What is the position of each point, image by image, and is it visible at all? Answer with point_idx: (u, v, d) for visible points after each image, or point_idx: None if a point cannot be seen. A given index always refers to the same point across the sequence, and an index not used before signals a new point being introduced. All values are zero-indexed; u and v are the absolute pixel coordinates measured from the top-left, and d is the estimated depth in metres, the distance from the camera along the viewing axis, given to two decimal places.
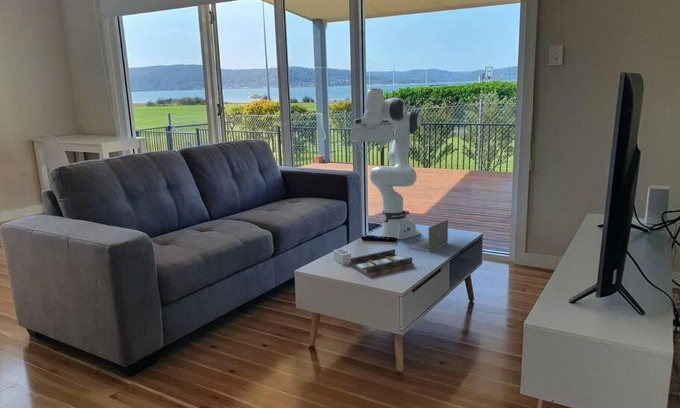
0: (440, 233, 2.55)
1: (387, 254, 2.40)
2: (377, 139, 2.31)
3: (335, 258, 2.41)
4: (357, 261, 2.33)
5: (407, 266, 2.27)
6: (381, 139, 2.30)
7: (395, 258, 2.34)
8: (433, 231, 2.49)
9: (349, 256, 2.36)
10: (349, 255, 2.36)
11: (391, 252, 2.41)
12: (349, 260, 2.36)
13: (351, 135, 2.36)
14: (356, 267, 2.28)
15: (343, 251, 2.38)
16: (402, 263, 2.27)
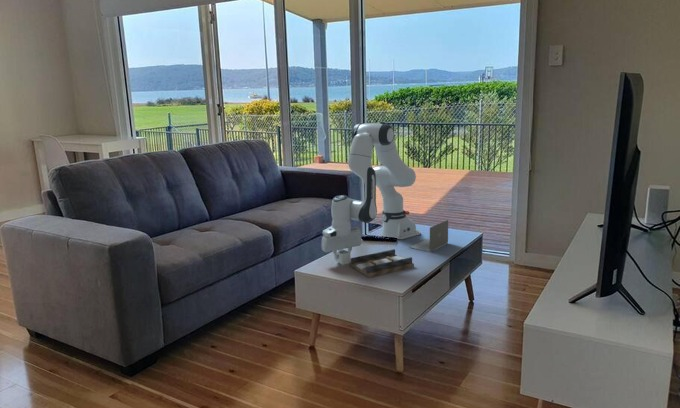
0: (441, 233, 2.54)
1: (387, 254, 2.40)
2: (350, 246, 2.39)
3: None
4: (357, 261, 2.33)
5: (407, 266, 2.27)
6: (354, 246, 2.39)
7: (395, 258, 2.34)
8: (434, 231, 2.49)
9: (348, 256, 2.36)
10: (349, 255, 2.36)
11: (391, 252, 2.41)
12: (349, 260, 2.36)
13: (326, 248, 2.32)
14: (356, 267, 2.28)
15: (343, 251, 2.38)
16: (402, 263, 2.27)
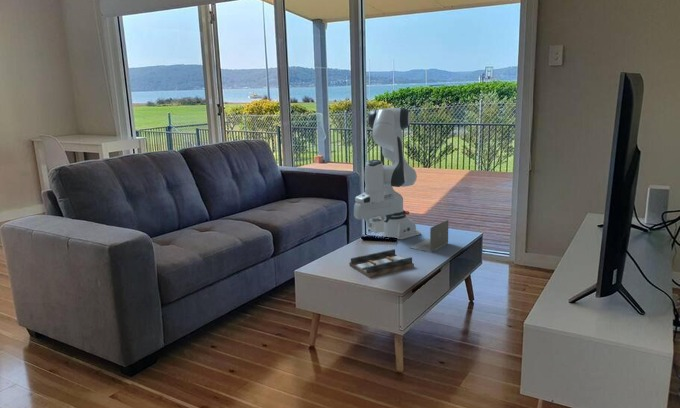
0: (441, 233, 2.54)
1: (387, 254, 2.40)
2: (384, 214, 2.27)
3: None
4: (357, 261, 2.33)
5: (407, 266, 2.27)
6: (387, 213, 2.28)
7: (395, 258, 2.34)
8: (434, 231, 2.49)
9: (382, 223, 2.24)
10: (382, 223, 2.24)
11: (391, 252, 2.41)
12: (382, 228, 2.25)
13: (359, 214, 2.21)
14: (356, 267, 2.28)
15: (376, 219, 2.27)
16: (402, 263, 2.27)
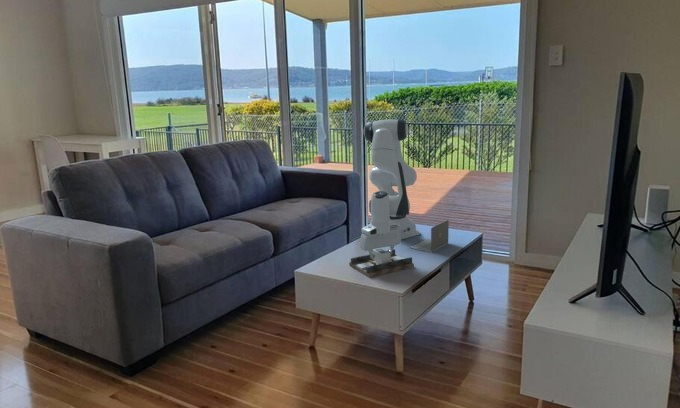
0: (441, 233, 2.54)
1: None
2: (390, 245, 2.30)
3: (374, 258, 2.32)
4: (357, 261, 2.33)
5: (407, 266, 2.27)
6: (393, 244, 2.30)
7: (395, 258, 2.34)
8: (435, 231, 2.49)
9: (388, 255, 2.27)
10: (389, 255, 2.27)
11: None
12: (388, 260, 2.27)
13: (365, 246, 2.23)
14: (356, 267, 2.28)
15: (382, 251, 2.29)
16: (402, 263, 2.27)
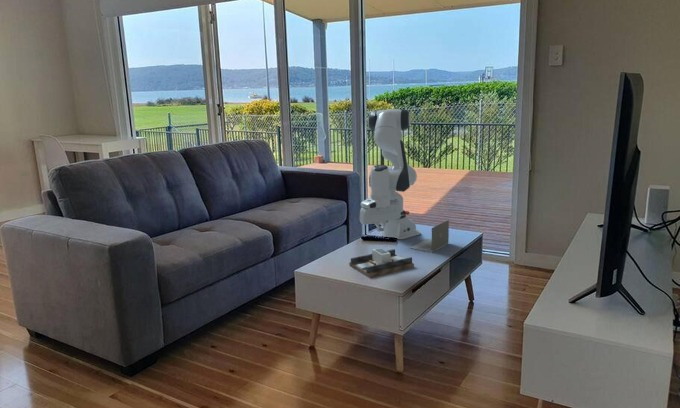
0: (442, 233, 2.54)
1: None
2: (389, 219, 2.27)
3: (374, 258, 2.32)
4: (357, 261, 2.33)
5: (407, 266, 2.27)
6: (393, 218, 2.28)
7: (395, 258, 2.34)
8: (436, 231, 2.49)
9: (388, 255, 2.27)
10: (389, 255, 2.27)
11: (391, 252, 2.41)
12: (388, 260, 2.27)
13: (365, 220, 2.20)
14: (356, 267, 2.28)
15: (382, 251, 2.29)
16: (402, 263, 2.27)
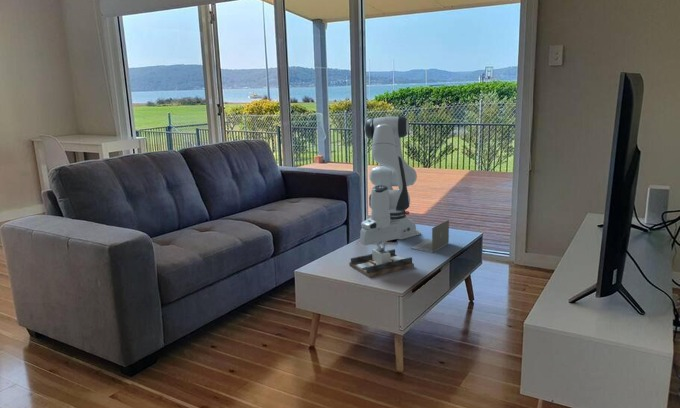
0: (442, 233, 2.54)
1: None
2: (389, 239, 2.29)
3: (374, 258, 2.32)
4: (357, 261, 2.33)
5: (407, 266, 2.27)
6: (393, 238, 2.30)
7: (395, 258, 2.34)
8: (436, 231, 2.48)
9: (388, 255, 2.27)
10: (389, 255, 2.27)
11: (391, 252, 2.41)
12: (388, 260, 2.27)
13: (365, 240, 2.22)
14: (356, 267, 2.28)
15: (382, 251, 2.29)
16: (402, 263, 2.27)
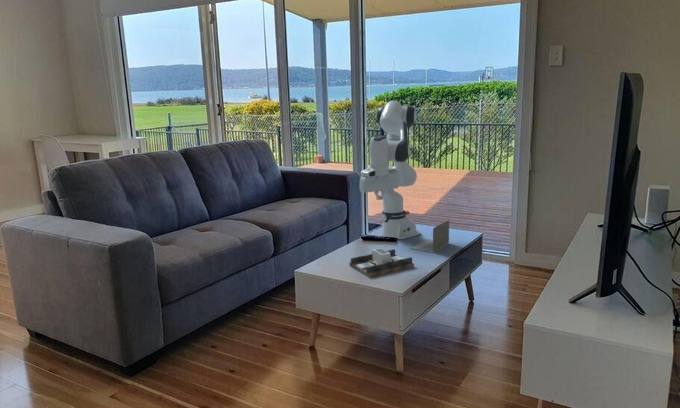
0: (442, 233, 2.54)
1: None
2: (388, 188, 2.35)
3: (374, 258, 2.32)
4: (357, 261, 2.33)
5: (407, 266, 2.27)
6: (391, 188, 2.36)
7: (395, 258, 2.34)
8: (437, 231, 2.48)
9: (388, 255, 2.27)
10: (389, 255, 2.27)
11: (391, 252, 2.41)
12: (388, 260, 2.27)
13: (364, 188, 2.29)
14: (356, 267, 2.28)
15: (382, 251, 2.29)
16: (402, 263, 2.27)
